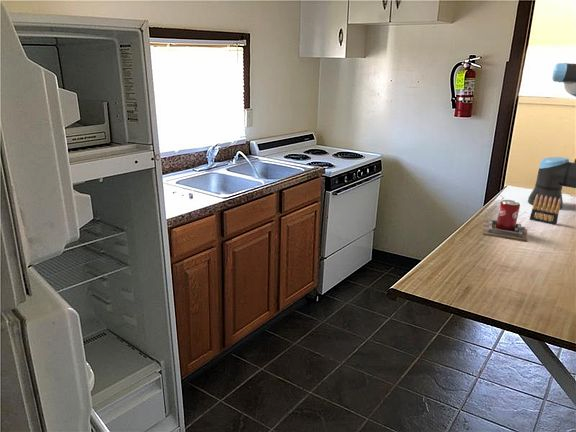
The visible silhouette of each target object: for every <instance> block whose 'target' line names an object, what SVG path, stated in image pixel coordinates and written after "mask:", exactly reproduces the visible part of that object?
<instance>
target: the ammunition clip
mask: <svg viewBox="0 0 576 432" xmlns="http://www.w3.org/2000/svg"><path fill="white" fill-rule="evenodd" d="M542 200H543V195H541V197H540V200H539V203H538V194H537V195H536V197H535V201H534V203H533V205H532V208H531V212H530V216H529V219H528V220H530V221H534V222H539V223H544V224H548V225H553V226H557V223H558V219H559V214H560V209H561V208H560V203H561V198H559V200H558V203H557V206H556V208H555V205H556V197H555V198H554V200H553V203H552V206H551V202H552V197H550V198H549V201H548V204H547V196H546V197H545V199H544V202H543V205H542ZM537 204H538V206H537ZM546 206H547V207H546Z"/></svg>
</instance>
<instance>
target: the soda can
mask: <svg viewBox="0 0 576 432" xmlns="http://www.w3.org/2000/svg"><path fill="white" fill-rule="evenodd" d="M520 206H521V204H520V202H518V201H516V200H513V199H502V200H501V201H500V203H499V209H498V213H497V214H498V215H497V219H496V220H497V223H496V229H500V230H506V231H513V232H514V231H515V227H516V224H517V221H518V216H519V211H520V208H521V207H520Z"/></svg>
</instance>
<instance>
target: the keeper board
mask: <svg viewBox="0 0 576 432" xmlns="http://www.w3.org/2000/svg"><path fill="white" fill-rule="evenodd" d="M496 223H497V219H495V220H494V219H490V218H489V220H484V221H483V232H482V235H483V236H488V237H489V236H490V237H496V238H501V239H502V238H503V239H506V240H507V239H509V240H515V241H520V242H526V243H527V242H528V239H527V238H528V237H527V232H526V231H527V230H526V227H525V226H522V224H521V223H516V227H515V231H514V232H513V231H506V230H500V229H496Z"/></svg>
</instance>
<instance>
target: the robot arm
mask: <svg viewBox="0 0 576 432" xmlns="http://www.w3.org/2000/svg"><path fill="white" fill-rule="evenodd" d="M552 81H553V82H556V83H563V84H564V89H565V92H567V93H568V94H570V95H571V96H573V97H575V98H576V63H568V62H557V63H556V64H555V66H554V68H553V72H552ZM563 187H566V188H572V189H576V158H574V161H573V162H571V161H570V159H569V158H567V157H561V156H559V157H558V156H553V157H551V156H550V157H545V158H542V159H541V160H540V164H539V166H538V172H537V175H536V180H535V185H534V188H533V190H532V191H531V193H530V194H529V195H528V200H527V203H528V204H530V205H532V206H533V203H534V201H535V197H536V195H537V194H538V203H539V200H540V197H541V195H543V200H542V205H543V202H544V199H545V197H546V196H547V204H548V201H549V198H550V197H552V202H551V206H552V203H553V200H554V198H555V197H556V205H555V208H556V206H557V203H558V200H559V198H561V203H560V209H561V208H562V207H563V203H564V202H563V201H564V200H563V193H562V191H563ZM537 206H538V204H537ZM546 207H547V206H546Z"/></svg>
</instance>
